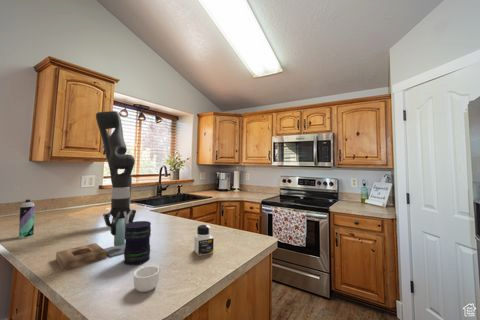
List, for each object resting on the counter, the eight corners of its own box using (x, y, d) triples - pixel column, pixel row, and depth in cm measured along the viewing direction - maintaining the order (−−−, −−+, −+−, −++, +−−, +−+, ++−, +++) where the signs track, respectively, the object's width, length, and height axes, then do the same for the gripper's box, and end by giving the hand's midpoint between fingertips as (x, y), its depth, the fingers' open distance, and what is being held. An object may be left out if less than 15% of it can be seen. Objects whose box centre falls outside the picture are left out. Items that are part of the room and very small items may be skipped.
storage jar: (132, 268, 81) (133, 229, 81) (118, 261, 86) (119, 224, 87) (155, 258, 89) (156, 223, 90) (141, 253, 95) (142, 219, 95)
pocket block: (95, 249, 98) (95, 243, 98) (106, 258, 89) (106, 251, 89) (55, 259, 87) (56, 252, 87) (63, 270, 78) (64, 262, 78)
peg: (122, 241, 100) (123, 216, 101) (126, 244, 98) (127, 218, 98) (112, 244, 97) (113, 218, 97) (116, 246, 94) (116, 219, 95)
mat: (126, 244, 105) (126, 242, 105) (136, 250, 98) (136, 248, 98) (101, 250, 97) (101, 249, 97) (110, 257, 90) (110, 256, 90)
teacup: (146, 298, 63) (146, 279, 63) (127, 292, 66) (127, 274, 66) (168, 281, 72) (169, 265, 73) (151, 276, 75) (151, 261, 75)
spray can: (16, 237, 111) (18, 199, 112) (30, 234, 116) (31, 198, 117) (22, 239, 109) (23, 200, 110) (35, 236, 114) (37, 199, 115)
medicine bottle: (198, 256, 92) (198, 228, 93) (193, 250, 99) (194, 224, 99) (213, 253, 96) (214, 226, 96) (208, 247, 102) (208, 223, 102)
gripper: (133, 194, 106) (132, 228, 105) (100, 197, 95) (99, 235, 94) (139, 196, 101) (138, 232, 101) (106, 199, 90) (105, 239, 90)
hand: (119, 233), depth 97 cm, fingers closed on peg, 4 cm apart
